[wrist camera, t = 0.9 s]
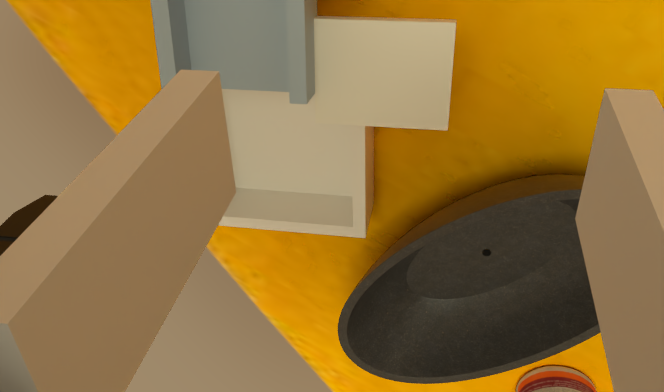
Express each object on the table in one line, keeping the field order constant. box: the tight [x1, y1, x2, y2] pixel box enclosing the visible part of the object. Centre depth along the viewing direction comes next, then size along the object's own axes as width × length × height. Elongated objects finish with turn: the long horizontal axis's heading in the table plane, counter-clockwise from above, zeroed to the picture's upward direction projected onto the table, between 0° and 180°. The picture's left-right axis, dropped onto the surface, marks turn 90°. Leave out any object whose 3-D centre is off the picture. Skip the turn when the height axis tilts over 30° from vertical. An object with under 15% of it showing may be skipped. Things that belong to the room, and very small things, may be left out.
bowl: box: [338, 174, 601, 384], centre depth 41 cm, size 12×22×6 cm, turn 131°
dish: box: [218, 89, 374, 238], centre depth 40 cm, size 11×11×4 cm
